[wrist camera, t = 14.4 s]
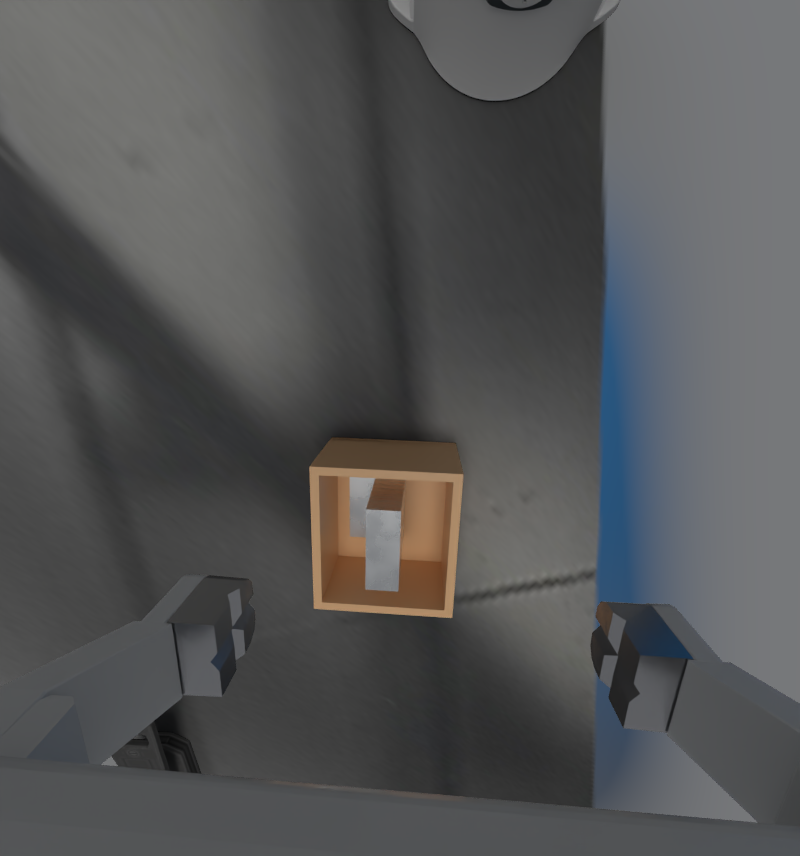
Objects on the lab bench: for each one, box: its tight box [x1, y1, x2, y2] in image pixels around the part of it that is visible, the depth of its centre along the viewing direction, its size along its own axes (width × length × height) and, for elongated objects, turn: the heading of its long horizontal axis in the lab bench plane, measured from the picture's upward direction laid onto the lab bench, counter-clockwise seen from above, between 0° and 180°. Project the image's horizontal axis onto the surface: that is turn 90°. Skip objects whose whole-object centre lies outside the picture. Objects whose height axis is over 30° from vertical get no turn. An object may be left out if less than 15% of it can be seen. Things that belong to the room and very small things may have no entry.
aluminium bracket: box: [350, 477, 406, 592], centre depth 40 cm, size 8×6×10 cm
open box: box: [310, 437, 463, 618], centre depth 42 cm, size 15×14×9 cm
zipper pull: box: [112, 721, 201, 774], centre depth 55 cm, size 9×7×25 cm
